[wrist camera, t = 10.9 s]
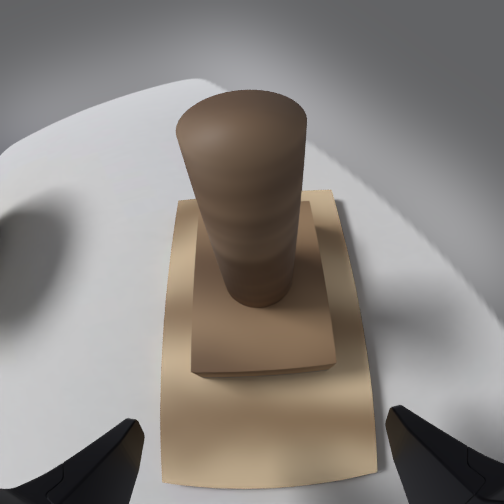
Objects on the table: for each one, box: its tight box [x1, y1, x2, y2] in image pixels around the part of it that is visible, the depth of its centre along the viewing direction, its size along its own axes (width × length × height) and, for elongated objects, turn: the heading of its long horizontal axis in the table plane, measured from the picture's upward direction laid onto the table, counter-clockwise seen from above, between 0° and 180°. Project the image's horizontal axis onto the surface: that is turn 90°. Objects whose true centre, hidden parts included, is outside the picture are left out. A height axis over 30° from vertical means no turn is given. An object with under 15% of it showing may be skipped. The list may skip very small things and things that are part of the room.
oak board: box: [160, 190, 377, 489], centre depth 17 cm, size 20×12×1 cm, turn 2°
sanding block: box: [176, 90, 337, 378], centre depth 12 cm, size 10×7×12 cm
